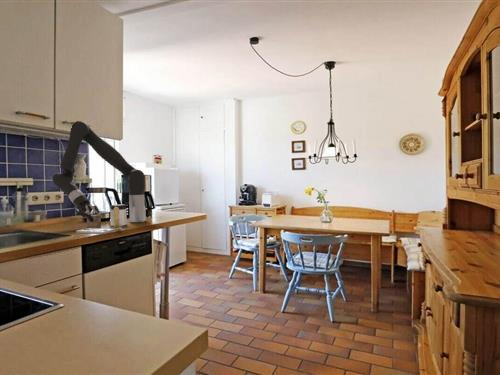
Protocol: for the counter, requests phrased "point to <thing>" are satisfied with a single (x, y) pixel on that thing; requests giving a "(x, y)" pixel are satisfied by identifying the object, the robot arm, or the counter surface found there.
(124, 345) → the counter surface
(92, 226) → the walnut block
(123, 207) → the jar
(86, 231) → the drilled plate
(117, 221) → the brass post
